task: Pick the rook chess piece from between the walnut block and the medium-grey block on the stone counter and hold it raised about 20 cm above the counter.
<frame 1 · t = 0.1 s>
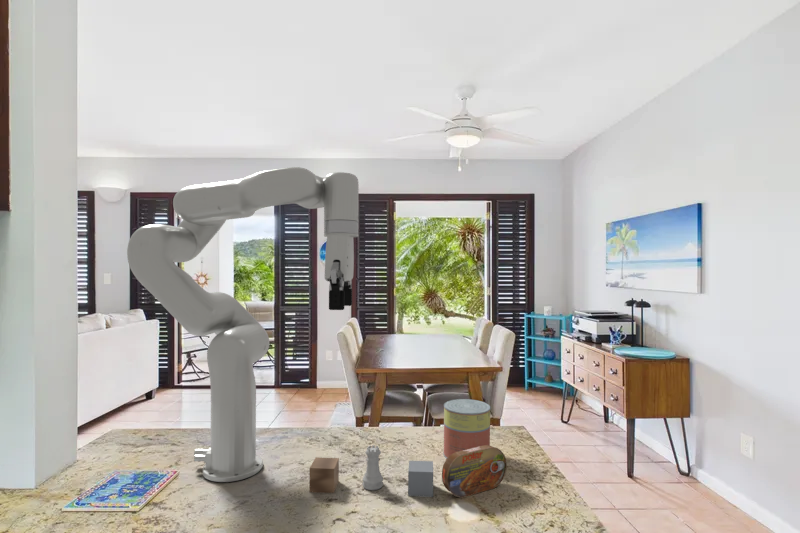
hand: (341, 307, 99), 37 cm above the countertop, tool pointing down, fingers open, 9 cm apart
canned food: (466, 455, 109), on the countertop
walnut block: (324, 487, 93), on the countertop
rook chess piece: (372, 486, 93), on the countertop
medium-grey block: (420, 490, 92), on the countertop
tin: (474, 490, 92), on the countertop
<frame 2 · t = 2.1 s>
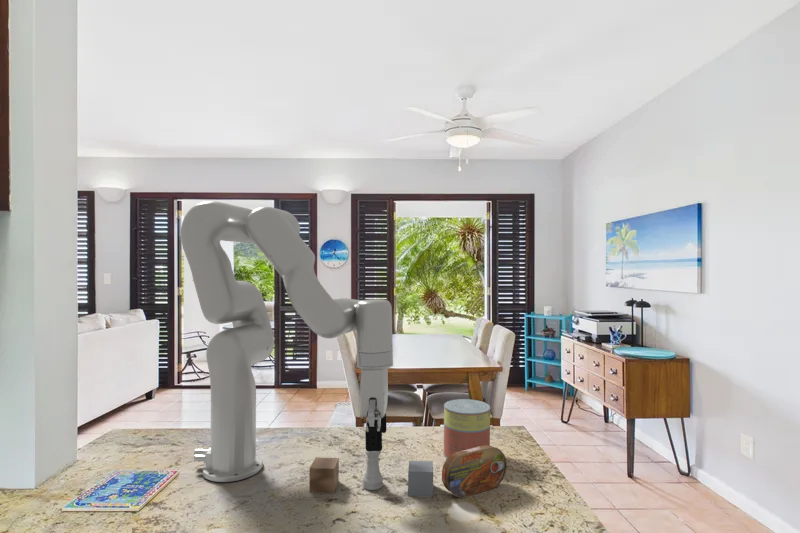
hand: (376, 441, 93), 9 cm above the countertop, tool pointing down, fingers open, 9 cm apart
nothing on the countertop moved.
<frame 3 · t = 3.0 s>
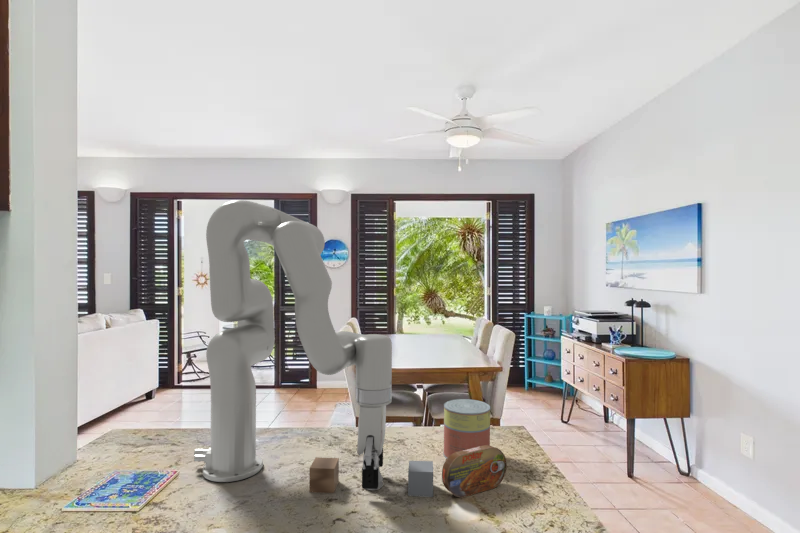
hand: (373, 476, 93), 2 cm above the countertop, tool pointing down, fingers open, 9 cm apart
nothing on the countertop moved.
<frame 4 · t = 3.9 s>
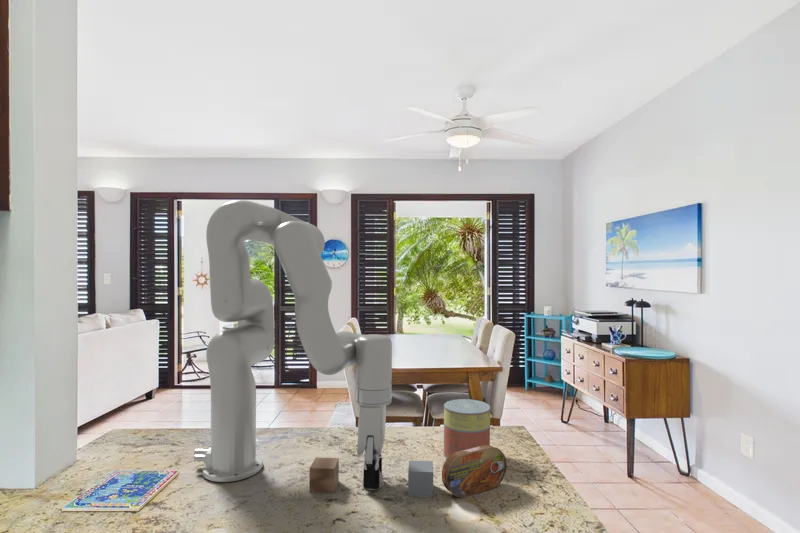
hand: (372, 481, 93), 1 cm above the countertop, tool pointing down, fingers closed on rook chess piece, 4 cm apart
rook chess piece: (372, 486, 93), on the countertop, touching gripper
everything else where it was.
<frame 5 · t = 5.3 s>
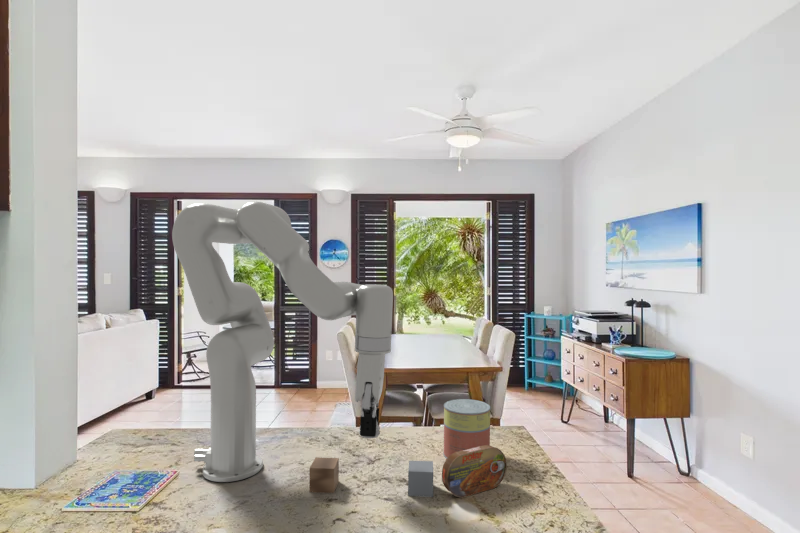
hand: (369, 430, 93), 12 cm above the countertop, tool pointing down, fingers closed on rook chess piece, 4 cm apart
rook chess piece: (369, 435, 93), point 10 cm above the countertop, touching gripper
everything else where it was.
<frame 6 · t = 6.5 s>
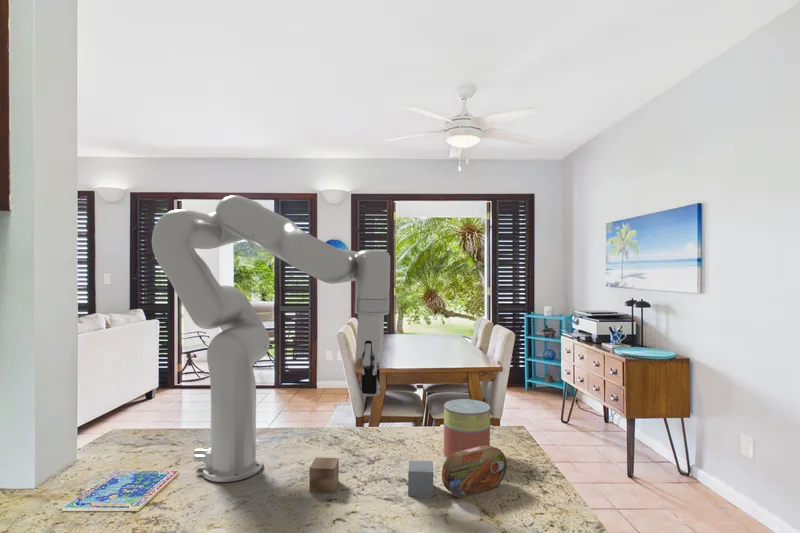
hand: (370, 389, 98), 19 cm above the countertop, tool pointing down, fingers closed on rook chess piece, 4 cm apart
rook chess piece: (370, 394, 98), point 18 cm above the countertop, touching gripper
everything else where it was.
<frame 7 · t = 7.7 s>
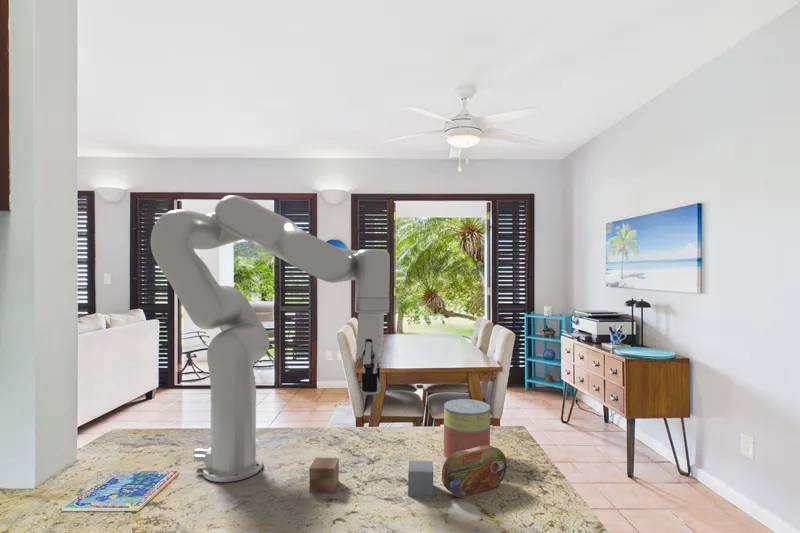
hand: (370, 387, 98), 19 cm above the countertop, tool pointing down, fingers closed on rook chess piece, 4 cm apart
rook chess piece: (371, 392, 98), point 18 cm above the countertop, touching gripper
everything else where it was.
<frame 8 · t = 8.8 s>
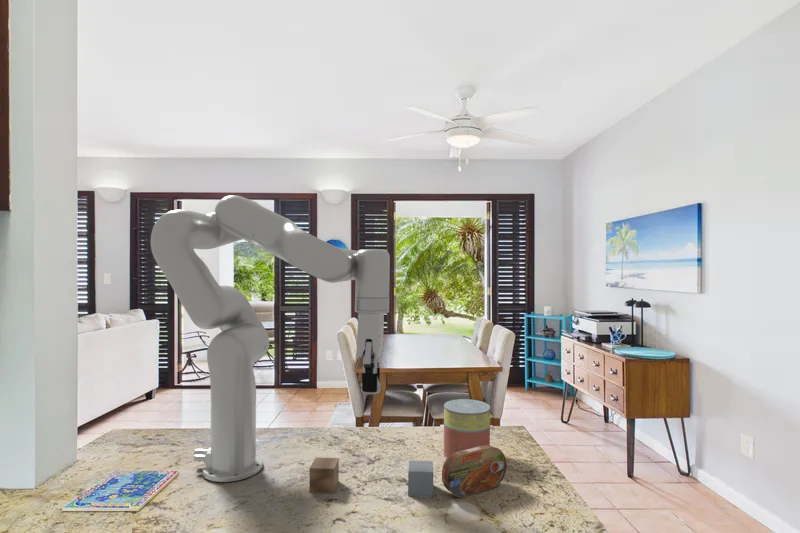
hand: (370, 387, 98), 19 cm above the countertop, tool pointing down, fingers closed on rook chess piece, 4 cm apart
rook chess piece: (371, 392, 98), point 18 cm above the countertop, touching gripper
everything else where it was.
at the end: rook chess piece point 18.0 cm above the countertop; walnut block moved 0.1 cm from its start; medium-grey block moved 0.1 cm from its start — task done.
